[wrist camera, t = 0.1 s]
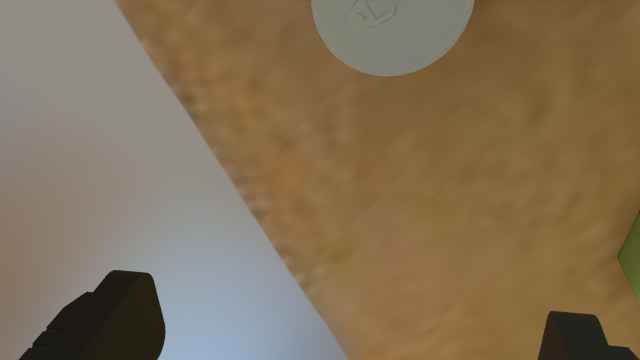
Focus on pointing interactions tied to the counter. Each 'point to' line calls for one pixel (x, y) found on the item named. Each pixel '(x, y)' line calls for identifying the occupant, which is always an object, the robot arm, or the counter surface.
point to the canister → (632, 256)
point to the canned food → (390, 32)
